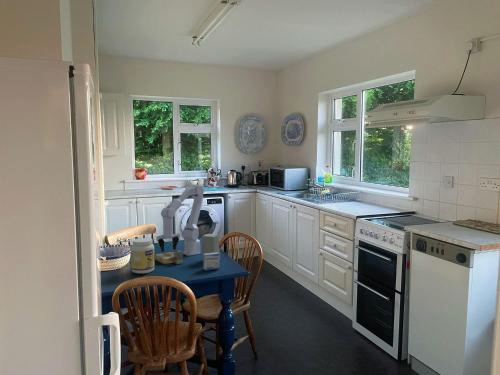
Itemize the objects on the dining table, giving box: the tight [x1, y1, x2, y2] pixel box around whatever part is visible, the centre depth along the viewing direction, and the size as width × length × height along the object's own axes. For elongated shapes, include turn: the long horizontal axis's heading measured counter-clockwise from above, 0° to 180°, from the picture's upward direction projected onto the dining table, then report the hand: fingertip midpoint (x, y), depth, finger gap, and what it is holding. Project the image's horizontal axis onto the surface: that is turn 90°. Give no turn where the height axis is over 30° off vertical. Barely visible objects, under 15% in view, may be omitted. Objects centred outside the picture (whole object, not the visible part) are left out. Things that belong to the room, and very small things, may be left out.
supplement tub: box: [130, 237, 156, 274], centre depth 205 cm, size 12×12×17 cm
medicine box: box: [202, 252, 220, 271], centre depth 209 cm, size 8×4×9 cm, turn 114°
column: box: [173, 249, 184, 265], centre depth 220 cm, size 4×4×7 cm
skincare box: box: [201, 233, 221, 262], centre depth 223 cm, size 8×7×16 cm
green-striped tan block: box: [154, 251, 174, 265], centre depth 226 cm, size 12×12×3 cm
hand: (168, 250), depth 225 cm, fingers open, 7 cm apart
